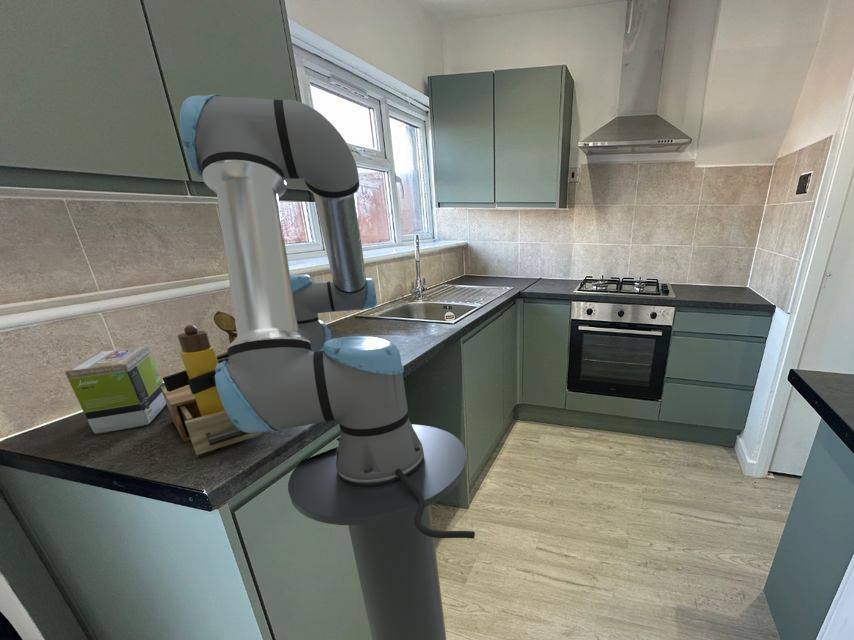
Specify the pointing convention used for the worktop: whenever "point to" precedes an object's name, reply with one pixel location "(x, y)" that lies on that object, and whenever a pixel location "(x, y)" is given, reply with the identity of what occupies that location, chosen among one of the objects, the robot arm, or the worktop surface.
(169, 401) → the cabinet
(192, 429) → the drawer
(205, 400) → the pepper mill
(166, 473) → the worktop surface
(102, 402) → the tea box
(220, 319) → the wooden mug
